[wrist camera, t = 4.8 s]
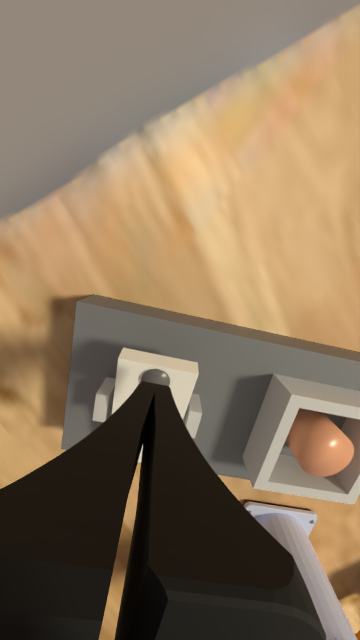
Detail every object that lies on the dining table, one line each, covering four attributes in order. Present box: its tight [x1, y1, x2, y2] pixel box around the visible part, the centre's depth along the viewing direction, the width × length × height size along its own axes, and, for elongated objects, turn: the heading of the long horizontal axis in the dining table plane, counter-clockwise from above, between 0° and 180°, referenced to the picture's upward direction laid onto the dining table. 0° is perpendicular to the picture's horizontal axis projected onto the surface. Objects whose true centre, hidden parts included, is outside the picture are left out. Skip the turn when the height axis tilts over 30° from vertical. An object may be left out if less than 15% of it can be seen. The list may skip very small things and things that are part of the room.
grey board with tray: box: [61, 295, 360, 505], centre depth 16 cm, size 12×24×6 cm, turn 77°
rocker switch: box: [112, 348, 199, 463], centre depth 14 cm, size 9×4×1 cm, turn 167°
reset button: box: [285, 409, 354, 477], centre depth 15 cm, size 4×4×2 cm
